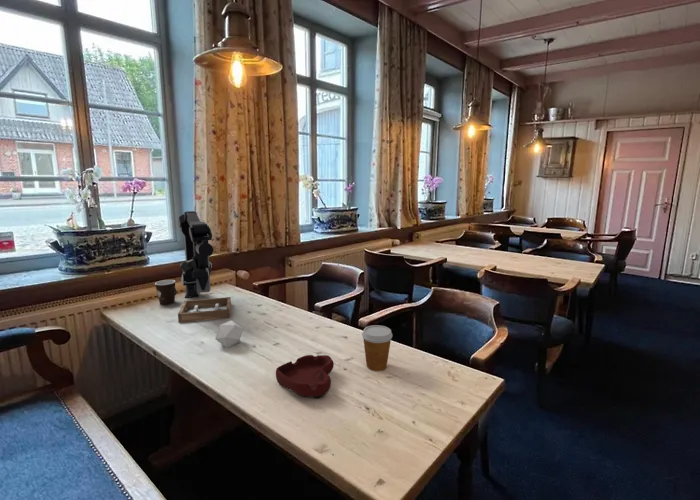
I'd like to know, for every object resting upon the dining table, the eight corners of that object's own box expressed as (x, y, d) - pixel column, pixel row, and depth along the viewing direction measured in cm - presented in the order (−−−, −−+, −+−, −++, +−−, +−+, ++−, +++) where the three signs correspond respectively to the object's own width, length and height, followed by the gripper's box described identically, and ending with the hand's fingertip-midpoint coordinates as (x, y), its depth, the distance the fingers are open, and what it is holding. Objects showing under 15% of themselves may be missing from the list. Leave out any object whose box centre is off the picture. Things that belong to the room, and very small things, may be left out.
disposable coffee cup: (356, 362, 122) (356, 327, 120) (382, 357, 126) (383, 322, 123) (369, 376, 113) (370, 339, 111) (397, 370, 117) (398, 333, 115)
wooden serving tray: (184, 308, 172) (184, 300, 171) (230, 304, 177) (230, 297, 177) (178, 322, 155) (177, 314, 154) (229, 317, 160) (229, 309, 160)
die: (245, 348, 133) (249, 321, 137) (224, 344, 127) (228, 315, 131) (230, 351, 138) (234, 324, 142) (208, 347, 131) (213, 319, 136)
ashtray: (282, 368, 119) (282, 353, 118) (334, 369, 118) (334, 354, 117) (268, 401, 101) (268, 384, 100) (329, 402, 101) (329, 385, 100)
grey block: (198, 289, 166) (197, 274, 165) (210, 288, 167) (209, 273, 166) (197, 292, 161) (195, 277, 160) (209, 291, 162) (208, 276, 161)
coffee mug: (156, 301, 181) (153, 281, 179) (175, 298, 185) (173, 278, 183) (158, 309, 171) (156, 287, 169) (179, 305, 176) (177, 284, 173)
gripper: (184, 250, 168) (187, 284, 171) (176, 258, 150) (180, 296, 153) (210, 248, 171) (213, 282, 174) (206, 257, 153) (209, 294, 156)
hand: (203, 288), depth 164 cm, fingers closed on grey block, 5 cm apart
